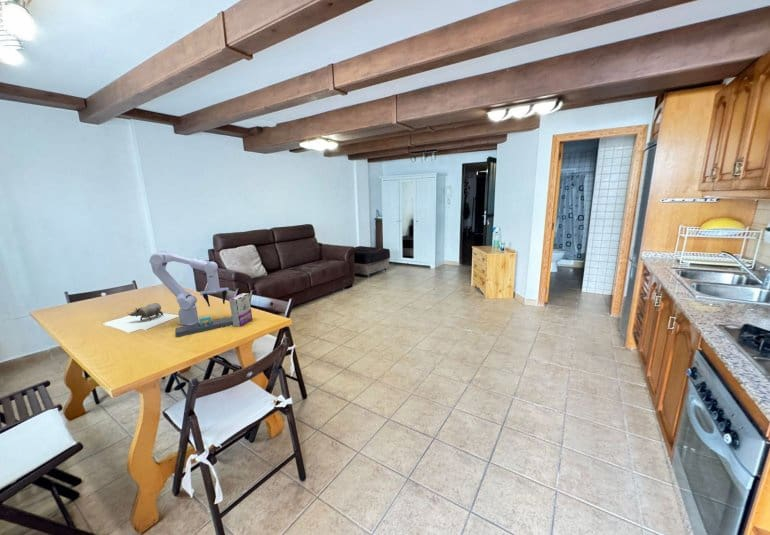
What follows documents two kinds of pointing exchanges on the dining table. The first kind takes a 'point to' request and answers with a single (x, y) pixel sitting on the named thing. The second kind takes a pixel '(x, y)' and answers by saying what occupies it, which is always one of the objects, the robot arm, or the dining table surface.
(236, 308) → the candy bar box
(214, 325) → the rail
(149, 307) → the animal figurine
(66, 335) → the dining table surface
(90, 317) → the dining table surface
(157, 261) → the robot arm
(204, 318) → the clip
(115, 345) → the dining table surface
